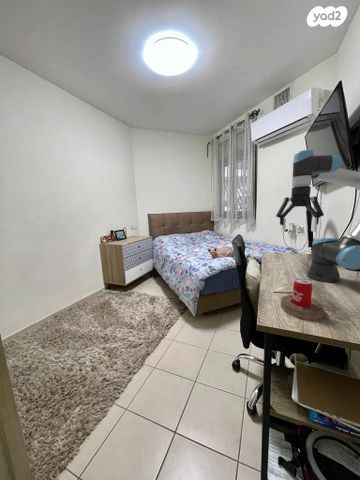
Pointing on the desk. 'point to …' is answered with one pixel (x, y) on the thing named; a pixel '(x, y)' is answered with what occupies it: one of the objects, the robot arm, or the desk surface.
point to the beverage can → (302, 293)
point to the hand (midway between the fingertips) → (298, 231)
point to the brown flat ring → (302, 308)
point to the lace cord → (283, 291)
